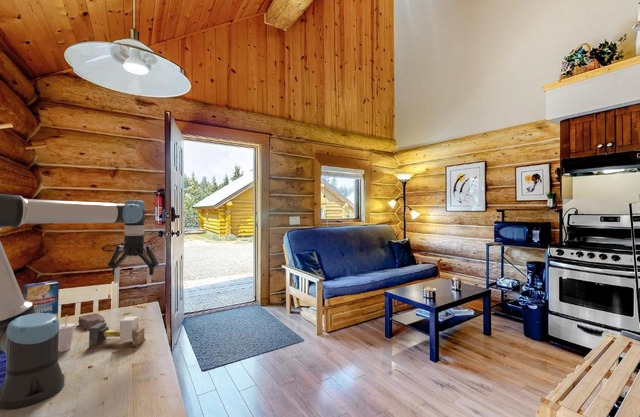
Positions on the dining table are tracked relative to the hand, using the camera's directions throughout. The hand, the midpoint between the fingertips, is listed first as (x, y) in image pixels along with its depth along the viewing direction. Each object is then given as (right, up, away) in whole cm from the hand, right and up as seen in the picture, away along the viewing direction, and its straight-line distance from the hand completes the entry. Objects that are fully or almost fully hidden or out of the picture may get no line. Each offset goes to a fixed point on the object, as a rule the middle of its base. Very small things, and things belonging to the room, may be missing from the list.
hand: (133, 282), depth 131 cm
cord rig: (-3, -25, -5) cm, 26 cm away
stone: (-30, -26, +15) cm, 42 cm away
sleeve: (+1, -22, -5) cm, 23 cm away
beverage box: (-49, -25, +8) cm, 55 cm away
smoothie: (-21, -25, -11) cm, 35 cm away
